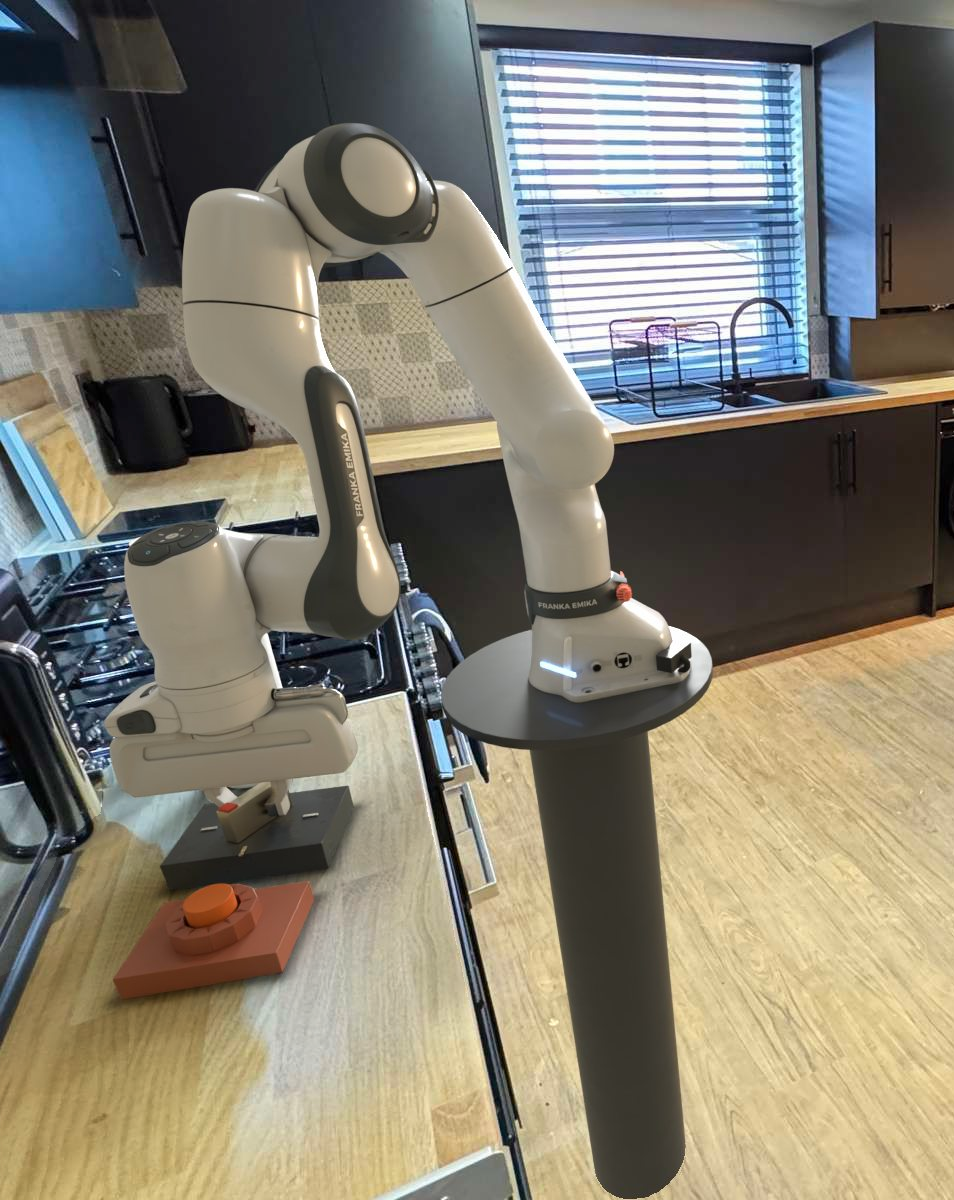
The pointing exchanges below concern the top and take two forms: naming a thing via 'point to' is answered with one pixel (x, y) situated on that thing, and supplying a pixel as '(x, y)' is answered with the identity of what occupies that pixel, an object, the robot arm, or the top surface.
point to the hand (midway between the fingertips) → (259, 815)
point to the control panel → (261, 842)
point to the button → (210, 905)
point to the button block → (217, 942)
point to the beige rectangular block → (247, 812)
